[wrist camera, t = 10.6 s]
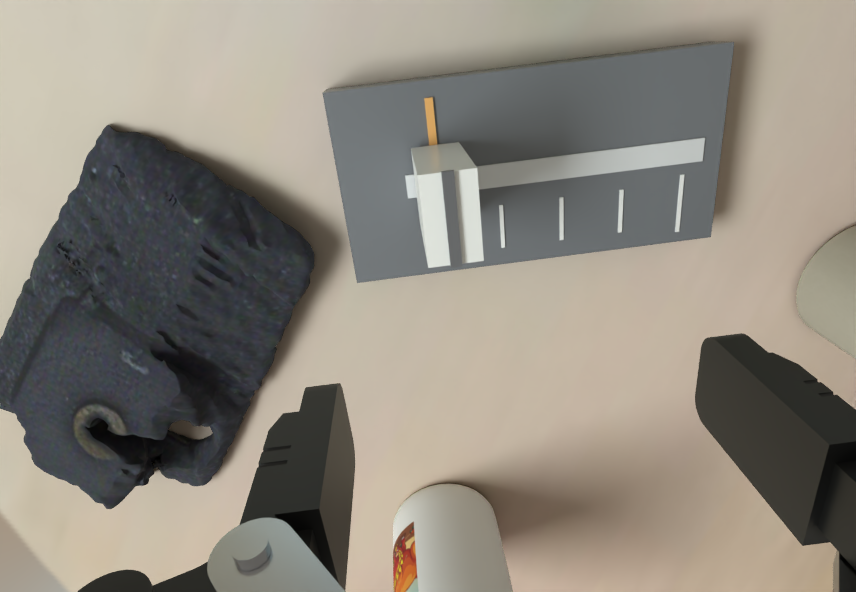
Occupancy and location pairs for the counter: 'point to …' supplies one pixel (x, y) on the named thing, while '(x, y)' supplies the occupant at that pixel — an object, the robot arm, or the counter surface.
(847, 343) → the travel mug
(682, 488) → the counter surface
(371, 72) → the counter surface
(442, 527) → the milk bottle
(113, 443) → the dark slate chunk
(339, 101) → the console
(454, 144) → the fader tab
